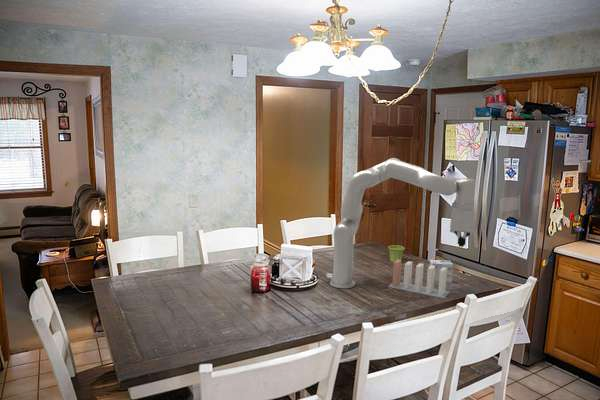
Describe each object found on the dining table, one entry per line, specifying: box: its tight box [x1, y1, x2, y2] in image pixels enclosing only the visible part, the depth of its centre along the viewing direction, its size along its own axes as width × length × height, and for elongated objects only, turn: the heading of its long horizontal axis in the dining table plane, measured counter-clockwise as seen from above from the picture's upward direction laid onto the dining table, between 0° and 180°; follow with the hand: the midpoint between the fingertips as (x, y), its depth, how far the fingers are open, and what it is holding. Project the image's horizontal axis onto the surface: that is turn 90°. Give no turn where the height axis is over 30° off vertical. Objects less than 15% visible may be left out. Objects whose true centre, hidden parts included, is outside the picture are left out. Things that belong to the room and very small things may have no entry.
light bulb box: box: [429, 259, 454, 283], centre depth 230 cm, size 11×7×11 cm, turn 84°
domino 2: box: [403, 261, 413, 289], centre depth 218 cm, size 2×6×12 cm, turn 149°
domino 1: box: [391, 259, 402, 287], centre depth 221 cm, size 2×6×12 cm, turn 150°
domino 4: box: [425, 265, 435, 294], centre depth 212 cm, size 2×6×12 cm, turn 149°
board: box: [388, 281, 450, 299], centre depth 216 cm, size 27×10×1 cm, turn 59°
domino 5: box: [438, 267, 447, 296], centre depth 210 cm, size 2×6×12 cm, turn 149°
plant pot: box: [388, 244, 405, 264], centre depth 264 cm, size 9×9×9 cm
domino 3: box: [414, 262, 425, 291], centre depth 215 cm, size 2×6×12 cm, turn 149°
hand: (461, 246), depth 203 cm, fingers closed
